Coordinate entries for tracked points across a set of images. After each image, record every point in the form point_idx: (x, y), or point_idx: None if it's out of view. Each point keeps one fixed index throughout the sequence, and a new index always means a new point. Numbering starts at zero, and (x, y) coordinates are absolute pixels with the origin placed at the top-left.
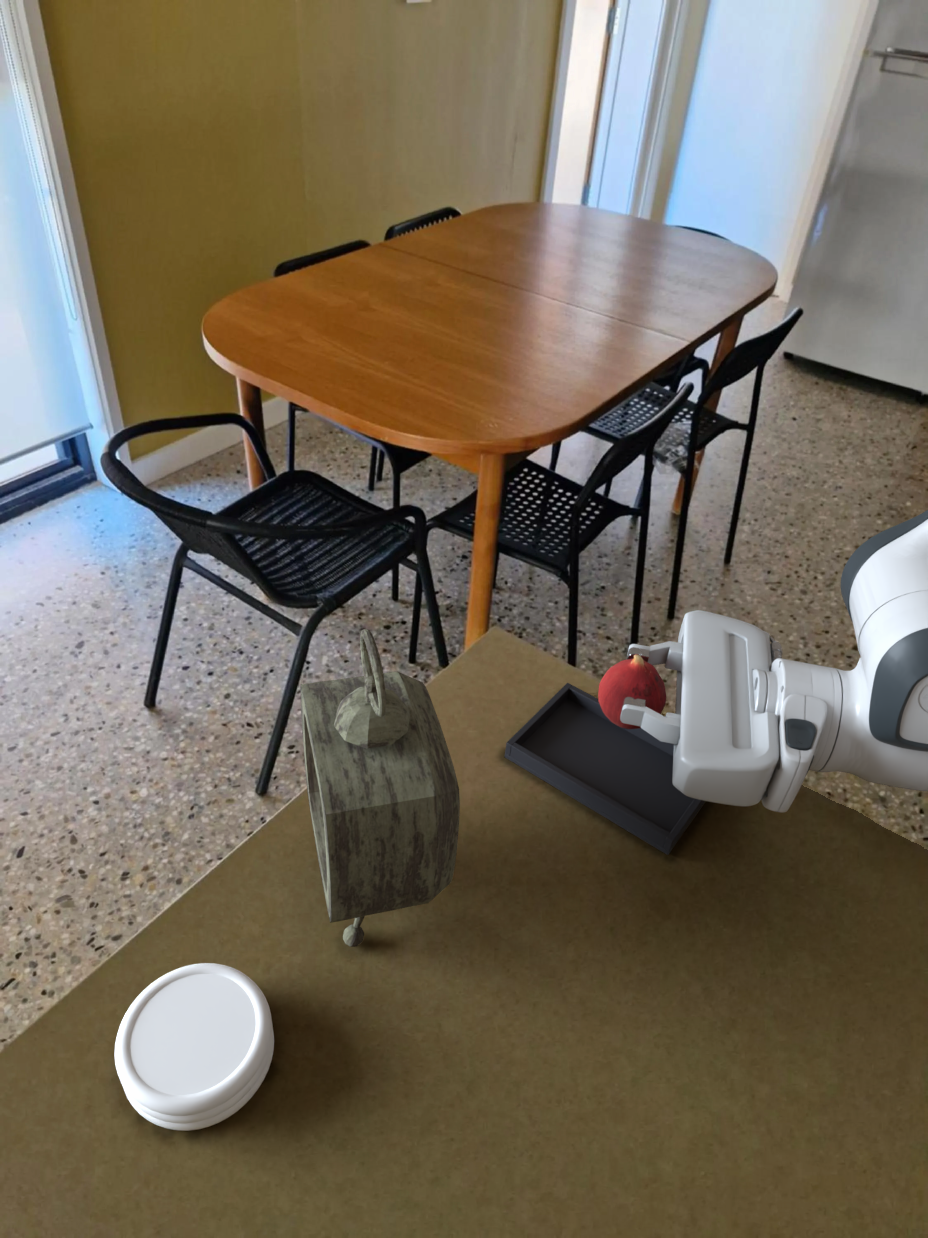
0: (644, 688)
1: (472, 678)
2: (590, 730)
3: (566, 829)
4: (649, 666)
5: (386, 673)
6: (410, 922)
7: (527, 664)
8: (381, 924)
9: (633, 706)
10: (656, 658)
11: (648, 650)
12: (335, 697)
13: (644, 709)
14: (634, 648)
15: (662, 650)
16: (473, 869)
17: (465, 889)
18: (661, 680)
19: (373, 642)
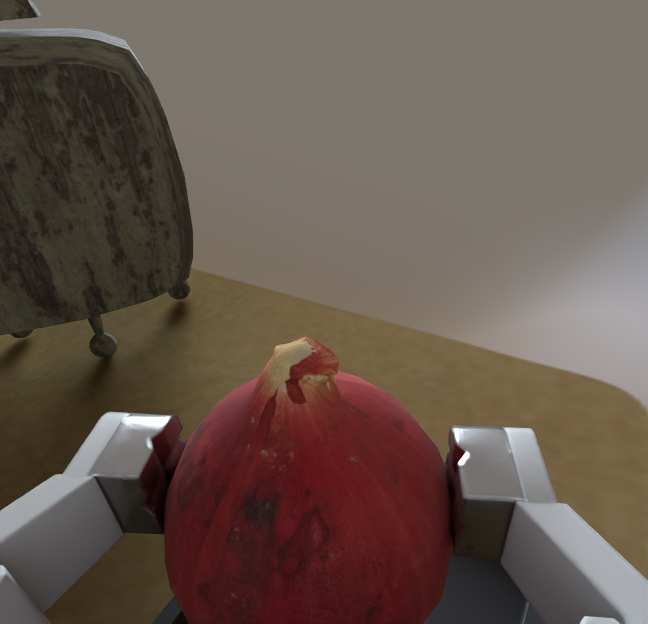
0: (197, 462)
1: (508, 377)
2: (446, 607)
3: (139, 565)
4: (310, 447)
5: (125, 47)
6: (29, 375)
7: (616, 456)
8: (39, 353)
9: (106, 434)
10: (547, 589)
11: (517, 494)
12: (68, 30)
13: (76, 472)
14: (497, 434)
15: (578, 583)
16: (88, 425)
17: (56, 420)
18: (291, 565)
19: None
